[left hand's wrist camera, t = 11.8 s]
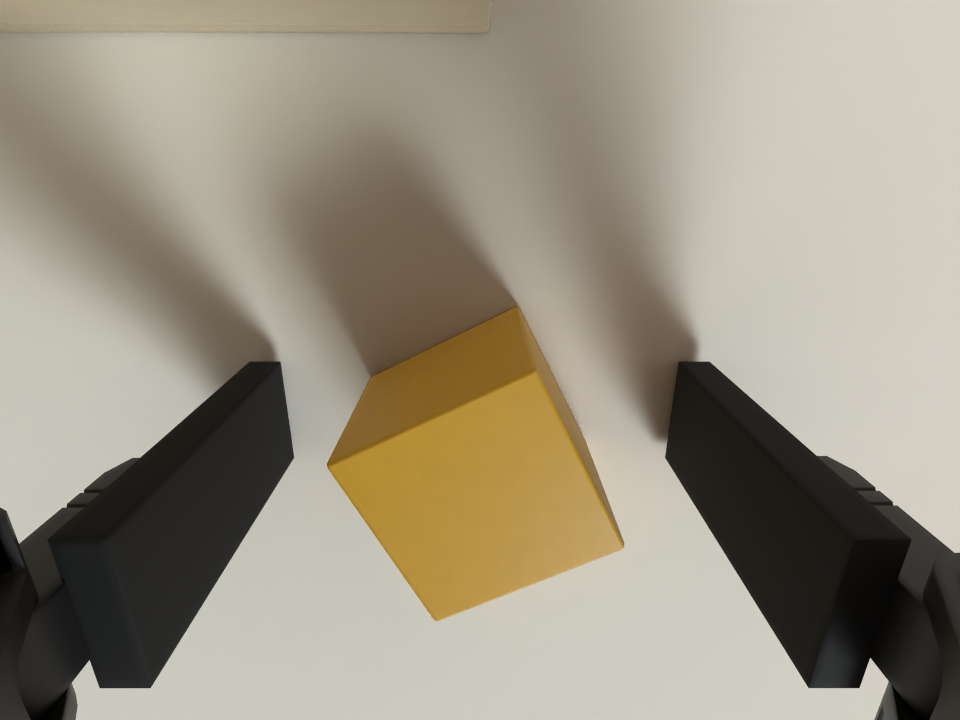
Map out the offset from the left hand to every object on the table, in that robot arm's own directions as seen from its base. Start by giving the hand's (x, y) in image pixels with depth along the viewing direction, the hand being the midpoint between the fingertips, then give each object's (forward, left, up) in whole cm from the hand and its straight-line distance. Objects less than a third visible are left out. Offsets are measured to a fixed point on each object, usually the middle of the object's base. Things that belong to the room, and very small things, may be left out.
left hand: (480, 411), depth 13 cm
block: (0, 0, 0) cm, 0 cm away
